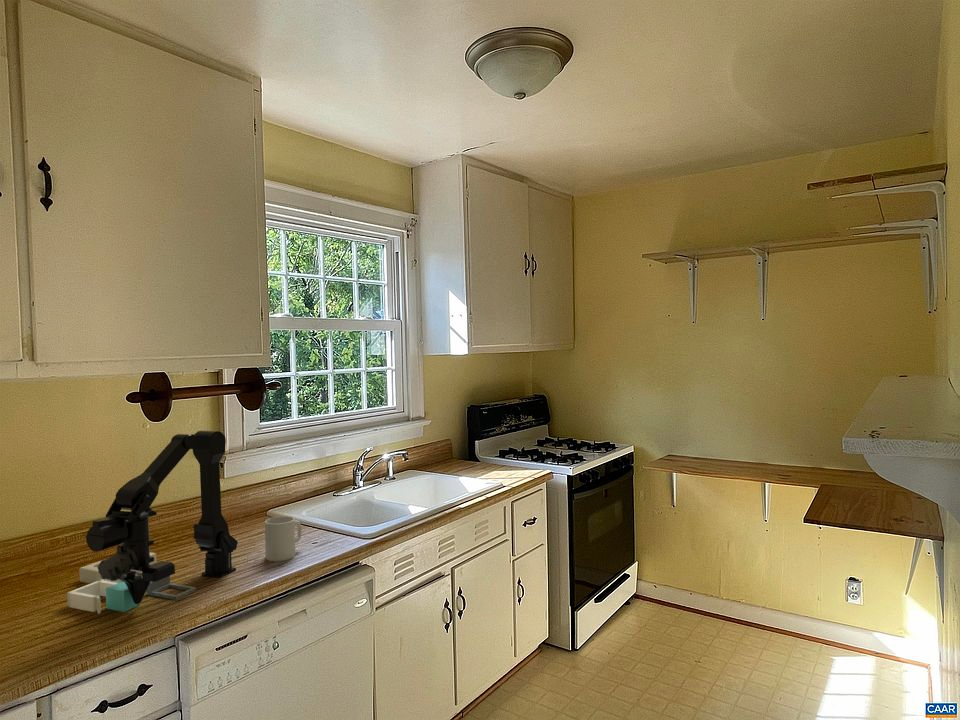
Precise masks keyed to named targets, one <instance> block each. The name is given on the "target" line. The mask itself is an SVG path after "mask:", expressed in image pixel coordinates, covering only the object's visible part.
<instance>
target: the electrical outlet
mask: <svg viewBox="0 0 960 720" xmlns="http://www.w3.org/2000/svg"><path fill="white" fill-rule="evenodd" d="M157 555H158V554H157V553H156V552H151V551H150V556H151V557H154V561H153V562H150V563H149V564H155V563H157V562H158V561H157ZM101 561H102V560H99V561H96V562H94V563H93V562H92V563H90V564H87V565H84V566H82V567H79V571H78V573H79V574H78V575H79V582H81V583H86V584H91V583H94V582H96V581H99V580H102V577H101V575H100V573H99V571H98V565H99V564H100V563H101Z"/></svg>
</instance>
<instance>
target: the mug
mask: <svg viewBox="0 0 960 720" xmlns="http://www.w3.org/2000/svg"><path fill="white" fill-rule="evenodd" d="M295 527H296V528H297V534H296V531H295V530H296V528H295ZM302 534H303V531H302V524H301V522H300V521H299V520H297V519H296V520H295V518H294V517H293V516H287V515H285V516H284V515H282V516H281V515H279V516H274V517H270V518H268V519H265V521H264V540H265V542H264V543H265V544H264V545H265V548H264V549H265V550H264V551H265V553H264V555H265V556H264V557H265V559H266V560H267V561H270V562H283V561H288V560H290V559H293V558H294V557H295V556H296V543H299V541H300V540H302V539H301V538H302Z"/></svg>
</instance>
